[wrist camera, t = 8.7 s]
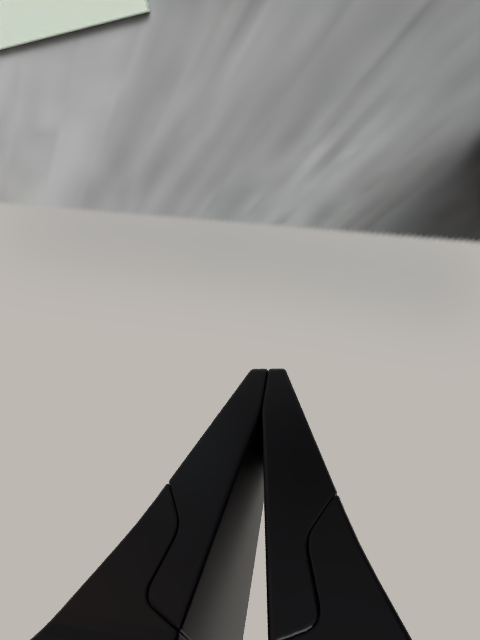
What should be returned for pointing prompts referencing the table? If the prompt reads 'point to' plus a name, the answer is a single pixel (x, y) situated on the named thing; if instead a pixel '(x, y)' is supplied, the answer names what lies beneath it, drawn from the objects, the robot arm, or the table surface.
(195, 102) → the table surface
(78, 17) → the mat
